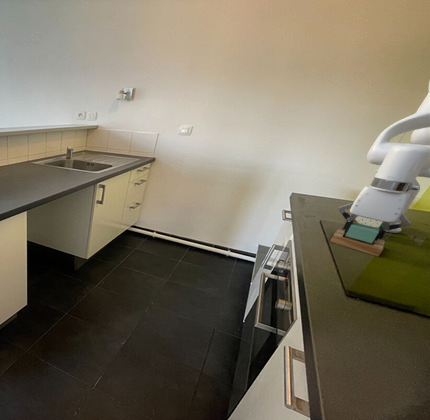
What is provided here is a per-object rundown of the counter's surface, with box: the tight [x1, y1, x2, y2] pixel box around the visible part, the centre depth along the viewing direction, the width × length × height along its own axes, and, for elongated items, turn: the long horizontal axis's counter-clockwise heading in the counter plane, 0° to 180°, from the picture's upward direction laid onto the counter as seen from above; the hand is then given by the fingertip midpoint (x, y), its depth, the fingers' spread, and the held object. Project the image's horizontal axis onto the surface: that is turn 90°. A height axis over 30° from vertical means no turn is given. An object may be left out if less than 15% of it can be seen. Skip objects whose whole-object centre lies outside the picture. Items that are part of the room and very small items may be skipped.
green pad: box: [345, 222, 380, 243], centre depth 83 cm, size 6×6×4 cm
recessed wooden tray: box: [329, 228, 385, 257], centre depth 85 cm, size 11×11×2 cm
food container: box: [353, 216, 383, 228], centre depth 94 cm, size 12×6×10 cm, turn 168°
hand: (360, 235), depth 84 cm, fingers closed on green pad, 6 cm apart
